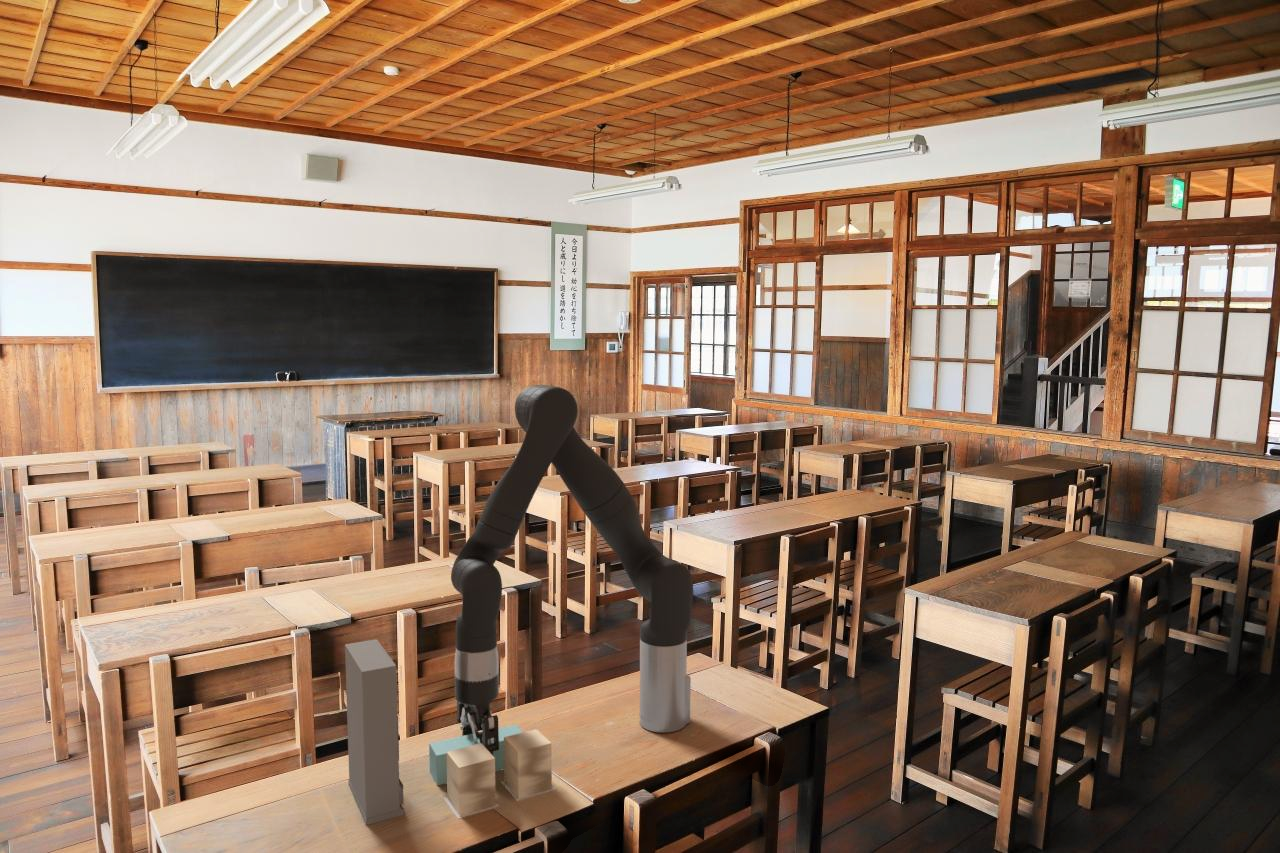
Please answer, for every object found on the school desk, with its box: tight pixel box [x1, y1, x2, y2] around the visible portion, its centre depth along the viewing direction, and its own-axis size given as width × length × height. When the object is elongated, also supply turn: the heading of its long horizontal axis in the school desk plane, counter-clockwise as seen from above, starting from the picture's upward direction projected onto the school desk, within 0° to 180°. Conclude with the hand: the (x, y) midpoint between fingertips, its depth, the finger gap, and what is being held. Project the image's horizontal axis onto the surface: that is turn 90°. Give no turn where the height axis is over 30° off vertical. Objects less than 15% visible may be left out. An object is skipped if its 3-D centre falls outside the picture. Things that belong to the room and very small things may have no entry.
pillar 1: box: [446, 743, 497, 816], centre depth 136 cm, size 6×6×8 cm
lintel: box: [428, 723, 524, 786], centre depth 147 cm, size 16×5×6 cm, turn 118°
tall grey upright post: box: [344, 639, 405, 826], centre depth 136 cm, size 14×6×25 cm, turn 30°
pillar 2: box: [503, 728, 553, 799], centre depth 141 cm, size 6×6×8 cm
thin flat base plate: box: [443, 780, 557, 820], centre depth 139 cm, size 20×10×1 cm, turn 121°
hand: (477, 760), depth 147 cm, fingers open, 8 cm apart
